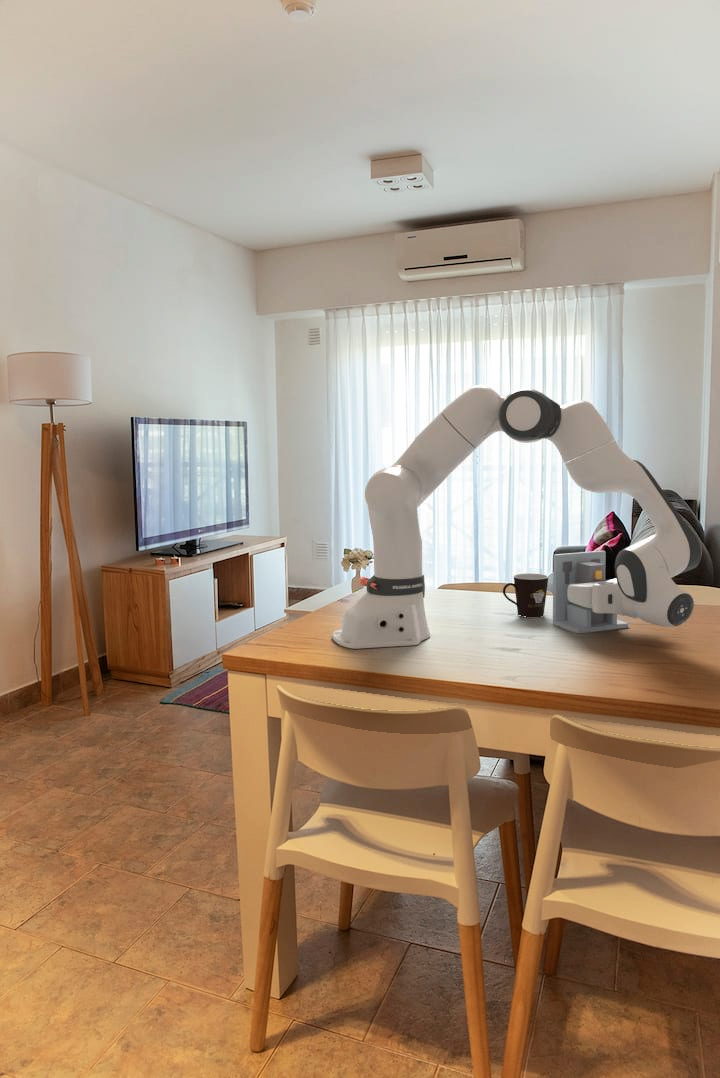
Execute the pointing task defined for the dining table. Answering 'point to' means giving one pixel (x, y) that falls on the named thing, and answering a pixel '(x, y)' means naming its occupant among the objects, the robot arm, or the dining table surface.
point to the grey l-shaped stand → (569, 612)
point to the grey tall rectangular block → (589, 574)
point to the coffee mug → (529, 594)
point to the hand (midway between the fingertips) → (589, 585)
